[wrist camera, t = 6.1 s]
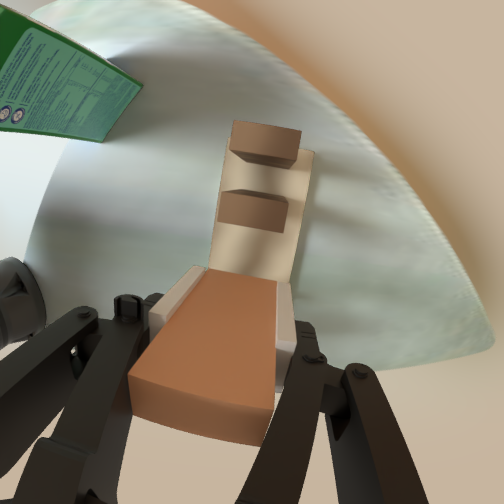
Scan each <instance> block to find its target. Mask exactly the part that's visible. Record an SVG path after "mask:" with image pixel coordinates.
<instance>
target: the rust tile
mask: <svg viewBox="0 0 504 504" xmlns="http://www.w3.org/2000/svg"><path fill="white" fill-rule="evenodd" d="M276 294H277V281H274V280H268V279H263V278H257V277H252V276H247V275H242V274H236V273H231V272H226V271H221V270H216V269H211V268H209V269H208V270H207V271H206V272H205V274H204V276H203V277H202V278H201V279H200V281H199V282H198V283H197V285H196V286H195V287H194V288H193V290H192V291H191V292H190V293H189V295H188V296H187V297H186V299H185V300H184V301H183V302H182V304H181V305H180V306H179V308H178V309H177V310H176V312H175V313H174V314H173V315H172V317H171V318H170V319H169V321H168V322H167V323H166V324H165V325H164V326H163V327H162V329H161V330H160V331H159V333H158V334H157V335H156V337H155V338H154V339H153V341H152V342H151V343H150V344H149V346H148V347H147V348H146V350H145V351H144V352H143V354H142V355H141V356H140V358H139V359H138V360H137V362H136V363H135V364H134V366H133V367H132V368H131V370H130V371H129V372H128V374H127V375H128V384H129V391H130V398H131V405H132V412H133V415H134V416H137V417H140V418H143V419H146V420H149V421H151V422H154V423H158V424H161V425H164V426H167V427H170V428H174V429H177V430H181V431H185V432H188V433H192V434H196V435H200V436H204V437H209V438H214V439H218V440H223V441H228V442H233V443H239V444H245V445H252V446H258V447H261V445H262V442H263V440H264V437H265V434H266V431H267V429H268V426H269V423H270V420H271V417H272V414H273V411H274V400H275V370H276V348H275V340H276Z"/></svg>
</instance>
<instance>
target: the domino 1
mask: <svg viewBox="0 0 504 504" xmlns="http://www.w3.org/2000/svg"><path fill="white" fill-rule="evenodd" d="M301 132H302V131H299V130H294V129H289V128H283V127H277V126H271V125H265V124H258V123H251V122H244V121H236V120H234V122H233V127H232V133H231V138H230V144H229V150H230V151H231V152H233V153H234V154H235V155H237V156H238V157H240V158H241V159H242V160H244V161H245V162H247V163H253V164H259V165H265V166H271V167H277V168H282V169H287V170H289V169H290V168H291V166H292V165H293V164H294V163H295V162H296V161H297V156H298V150H299V144H300V138H301Z"/></svg>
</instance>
